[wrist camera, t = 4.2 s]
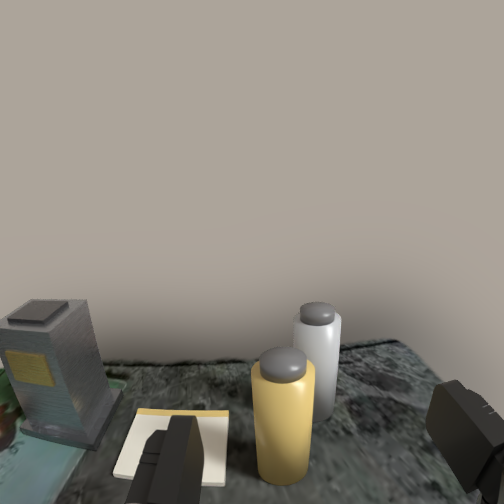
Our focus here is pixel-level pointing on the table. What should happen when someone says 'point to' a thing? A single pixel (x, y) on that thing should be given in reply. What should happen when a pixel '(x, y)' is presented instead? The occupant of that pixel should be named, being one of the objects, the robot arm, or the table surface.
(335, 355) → the cylinder
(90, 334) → the unit
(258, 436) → the cylinder
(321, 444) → the table surface
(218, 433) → the pad
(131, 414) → the table surface
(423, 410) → the table surface
